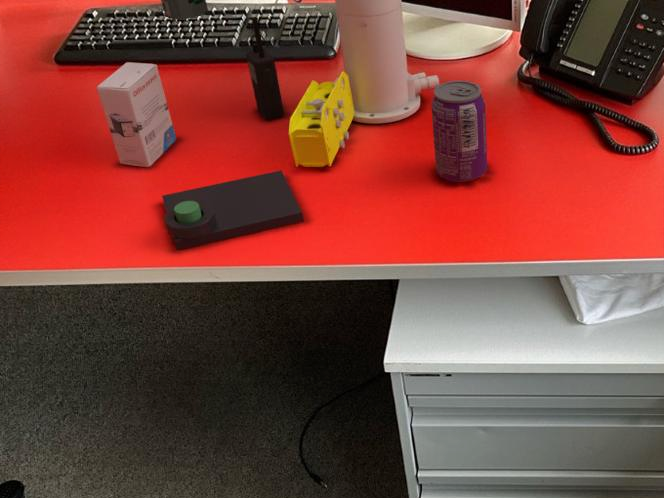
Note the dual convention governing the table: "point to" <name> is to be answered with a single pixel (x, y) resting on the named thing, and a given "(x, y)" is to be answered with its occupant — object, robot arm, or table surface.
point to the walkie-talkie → (264, 79)
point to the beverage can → (459, 131)
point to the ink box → (137, 113)
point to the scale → (233, 209)
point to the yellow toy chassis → (321, 122)
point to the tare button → (187, 212)
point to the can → (184, 8)
